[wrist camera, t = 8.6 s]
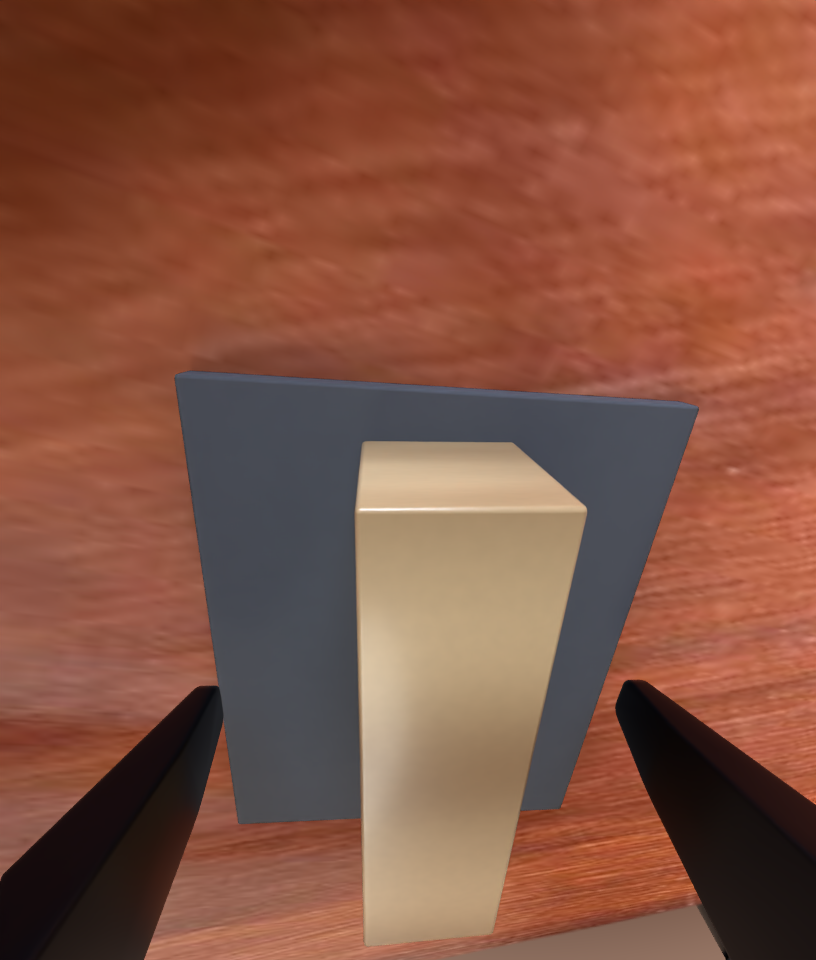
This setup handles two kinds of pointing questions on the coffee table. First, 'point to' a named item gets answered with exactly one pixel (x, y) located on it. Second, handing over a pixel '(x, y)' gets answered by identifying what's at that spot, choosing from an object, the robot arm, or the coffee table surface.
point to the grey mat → (332, 568)
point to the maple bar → (451, 671)
